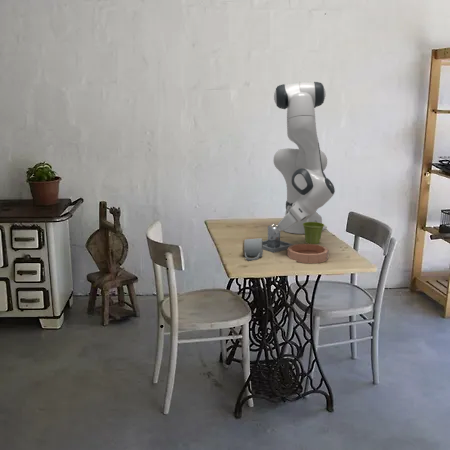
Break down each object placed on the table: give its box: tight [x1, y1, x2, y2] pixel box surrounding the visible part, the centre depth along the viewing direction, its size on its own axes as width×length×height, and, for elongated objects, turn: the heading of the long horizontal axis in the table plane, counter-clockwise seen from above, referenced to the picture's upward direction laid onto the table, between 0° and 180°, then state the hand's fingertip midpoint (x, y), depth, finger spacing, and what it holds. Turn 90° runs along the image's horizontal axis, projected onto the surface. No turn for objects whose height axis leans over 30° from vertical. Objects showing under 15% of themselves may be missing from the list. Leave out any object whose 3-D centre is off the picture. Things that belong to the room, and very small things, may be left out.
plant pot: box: [303, 222, 325, 245], centre depth 253 cm, size 9×9×9 cm
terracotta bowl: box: [286, 243, 329, 264], centre depth 234 cm, size 16×16×4 cm
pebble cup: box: [267, 223, 281, 249], centre depth 245 cm, size 5×5×10 cm
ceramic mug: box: [242, 237, 264, 262], centre depth 233 cm, size 11×8×8 cm
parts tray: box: [262, 239, 295, 253], centre depth 246 cm, size 12×12×2 cm
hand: (279, 229), depth 243 cm, fingers open, 8 cm apart
